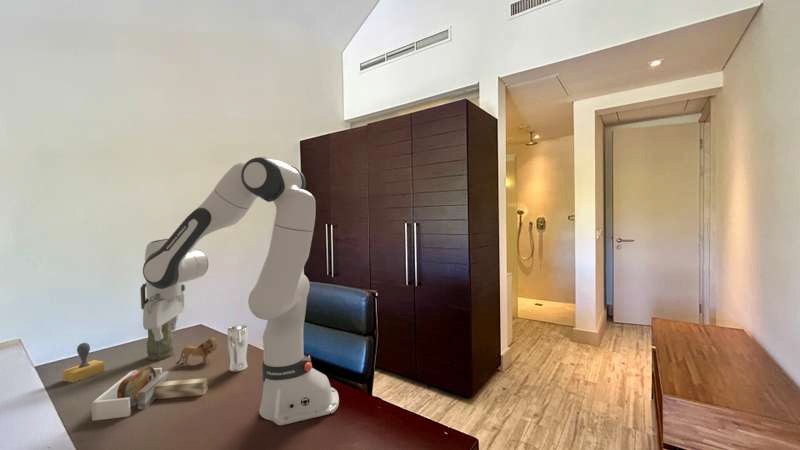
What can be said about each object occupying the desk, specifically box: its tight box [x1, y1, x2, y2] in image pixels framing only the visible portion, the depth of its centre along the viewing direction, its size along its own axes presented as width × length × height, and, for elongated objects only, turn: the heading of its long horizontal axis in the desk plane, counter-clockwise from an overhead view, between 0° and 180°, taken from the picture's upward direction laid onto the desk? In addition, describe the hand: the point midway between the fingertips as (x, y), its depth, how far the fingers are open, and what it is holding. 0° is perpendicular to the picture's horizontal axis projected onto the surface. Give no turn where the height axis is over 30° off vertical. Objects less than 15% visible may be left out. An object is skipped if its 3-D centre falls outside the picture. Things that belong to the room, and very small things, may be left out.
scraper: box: [137, 371, 209, 410], centre depth 112 cm, size 16×14×5 cm
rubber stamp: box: [62, 342, 106, 383], centre depth 127 cm, size 10×6×12 cm, turn 160°
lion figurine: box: [175, 337, 219, 366], centre depth 136 cm, size 15×5×9 cm, turn 107°
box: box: [90, 367, 163, 421], centre depth 110 cm, size 9×21×5 cm, turn 12°
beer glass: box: [226, 324, 249, 373], centre depth 131 cm, size 7×7×15 cm
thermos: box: [139, 282, 175, 361], centre depth 143 cm, size 9×12×35 cm
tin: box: [117, 366, 156, 408], centre depth 110 cm, size 15×3×8 cm, turn 6°
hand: (166, 334), depth 111 cm, fingers open, 8 cm apart
